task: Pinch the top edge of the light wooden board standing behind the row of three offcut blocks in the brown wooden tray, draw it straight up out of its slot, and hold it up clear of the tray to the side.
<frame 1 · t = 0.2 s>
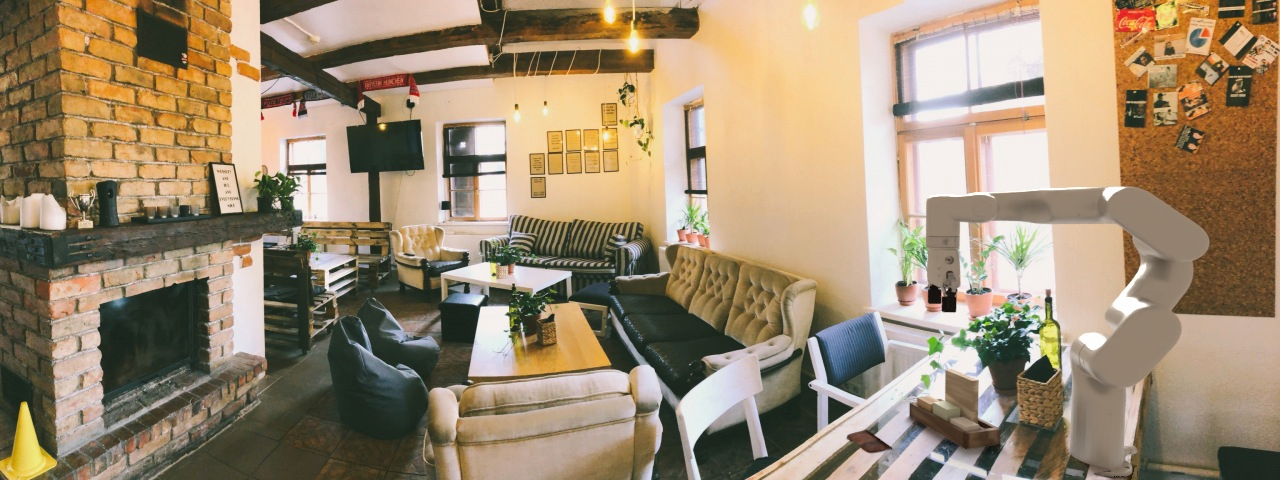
hand: (941, 307, 131), 36 cm above the table, tool pointing down, fingers open, 9 cm apart
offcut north: (964, 440, 131), point 1 cm above the table, touching brown wooden tray
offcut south: (929, 420, 143), point 1 cm above the table, touching brown wooden tray
brown wooden tray: (950, 434, 137), on the table
light wooden board: (960, 427, 138), point 1 cm above the table, touching brown wooden tray
wooden tablet: (896, 438, 138), on the table
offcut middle: (946, 429, 137), point 1 cm above the table, touching brown wooden tray
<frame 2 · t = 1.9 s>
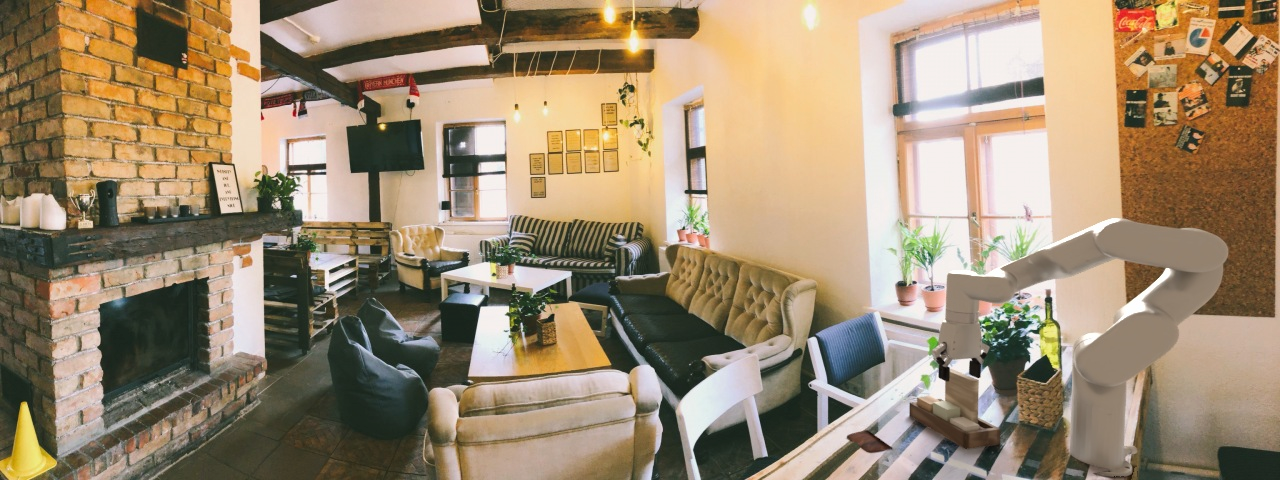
hand: (959, 378, 137), 15 cm above the table, tool pointing down, fingers open, 9 cm apart
nothing on the table moved.
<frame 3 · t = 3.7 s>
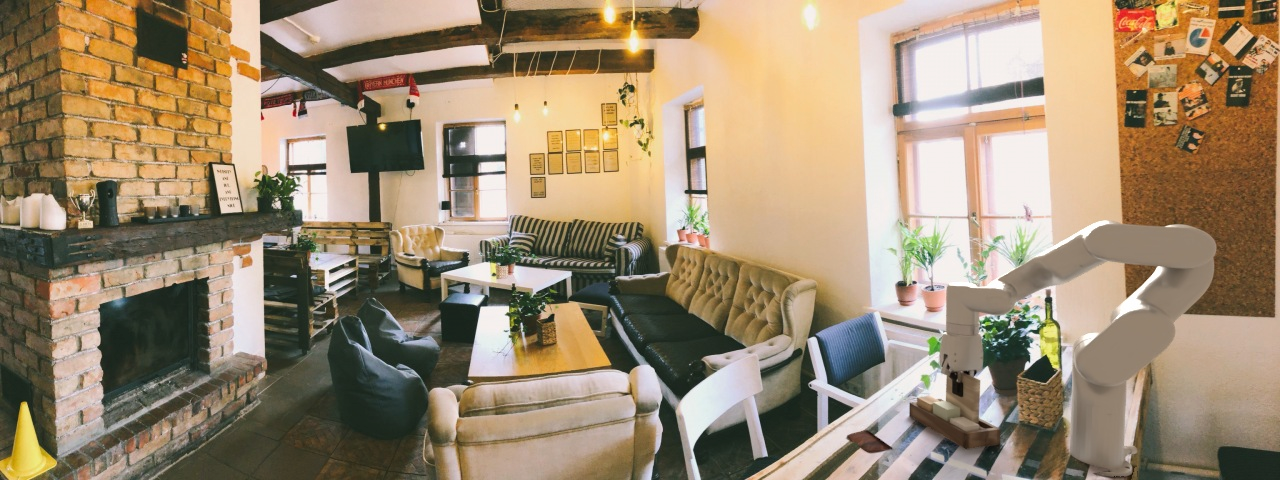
hand: (961, 394, 137), 11 cm above the table, tool pointing down, fingers closed on light wooden board, 1 cm apart
light wooden board: (961, 426, 138), point 2 cm above the table, touching gripper
everything else where it was.
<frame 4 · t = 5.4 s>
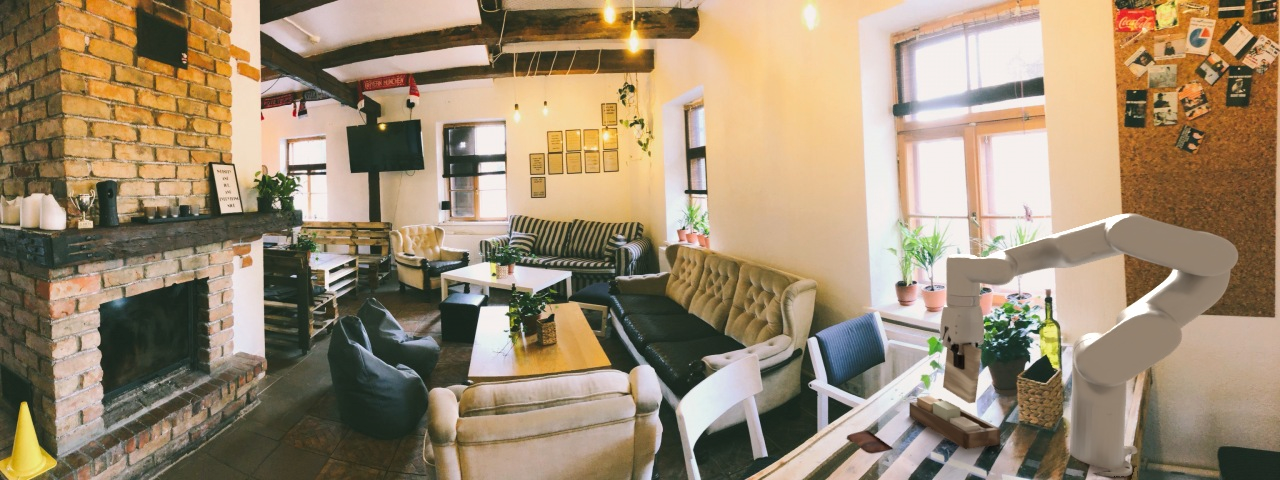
hand: (962, 367, 136), 19 cm above the table, tool pointing down, fingers closed on light wooden board
light wooden board: (958, 394, 138), point 10 cm above the table, tilted 7°, touching gripper
everything else where it was.
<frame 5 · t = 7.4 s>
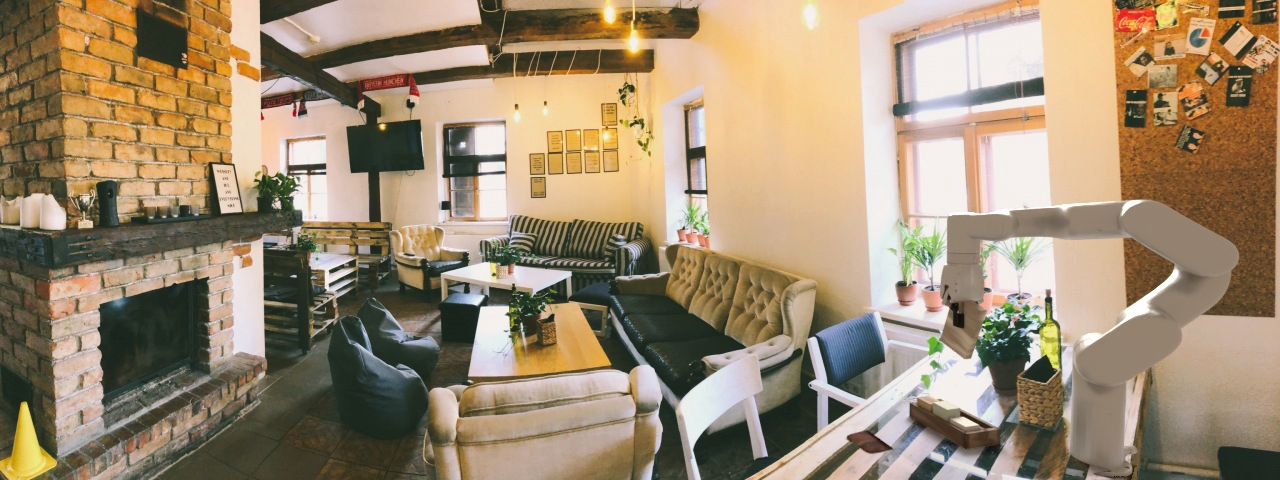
hand: (962, 326, 135), 30 cm above the table, tool pointing down, fingers closed on light wooden board
light wooden board: (955, 349, 138), point 23 cm above the table, tilted 18°, touching gripper
everything else where it was.
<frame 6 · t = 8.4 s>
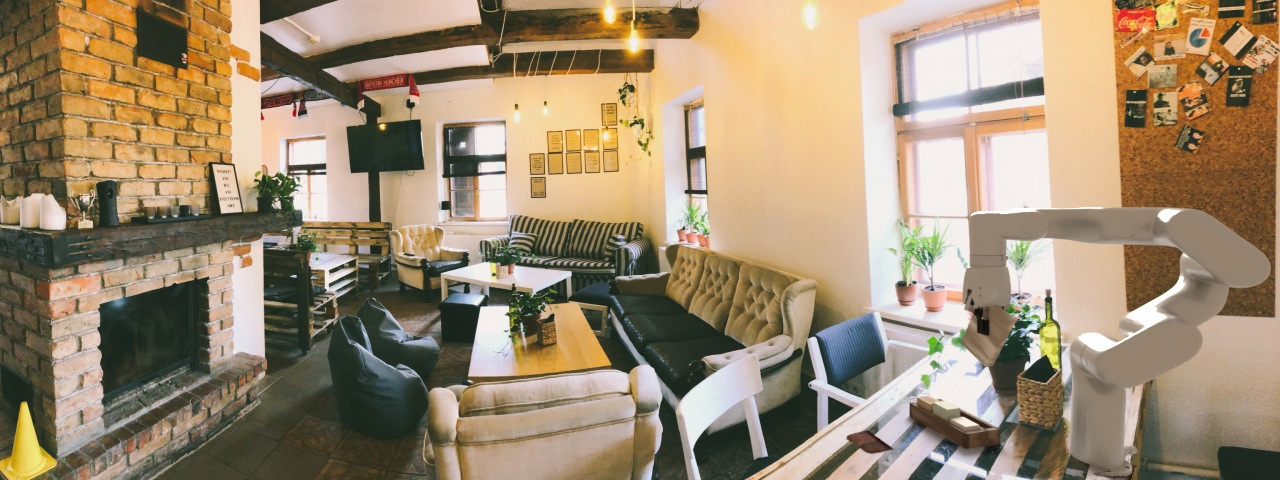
hand: (987, 333, 126), 31 cm above the table, tool pointing down, fingers closed on light wooden board
light wooden board: (976, 354, 130), point 24 cm above the table, tilted 26°, touching gripper
everything else where it was.
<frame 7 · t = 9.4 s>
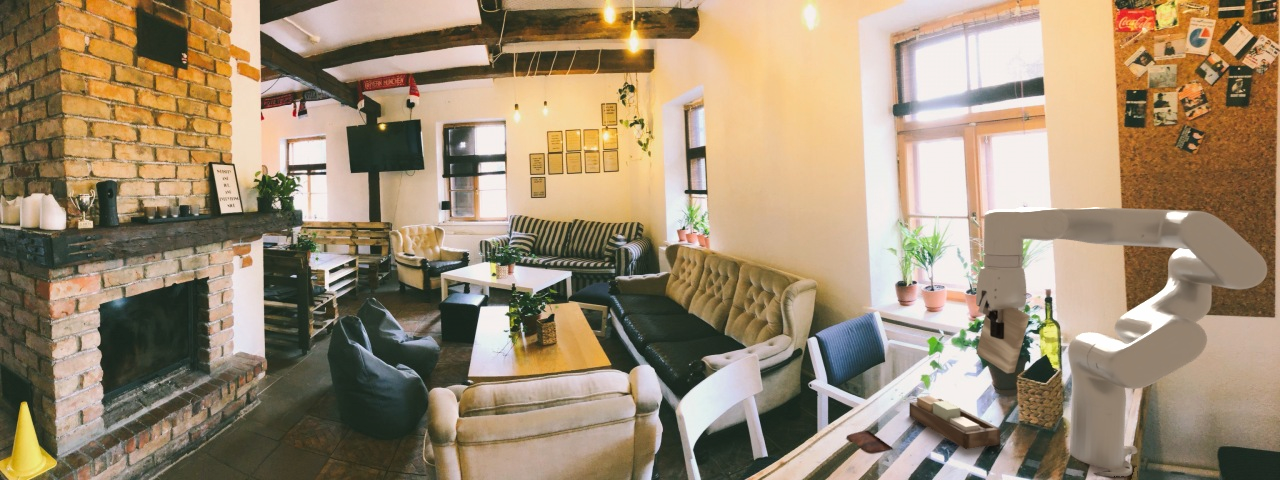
hand: (1001, 336, 121), 31 cm above the table, tool pointing down, fingers closed on light wooden board
light wooden board: (994, 362, 123), point 24 cm above the table, tilted 14°, touching gripper
everything else where it was.
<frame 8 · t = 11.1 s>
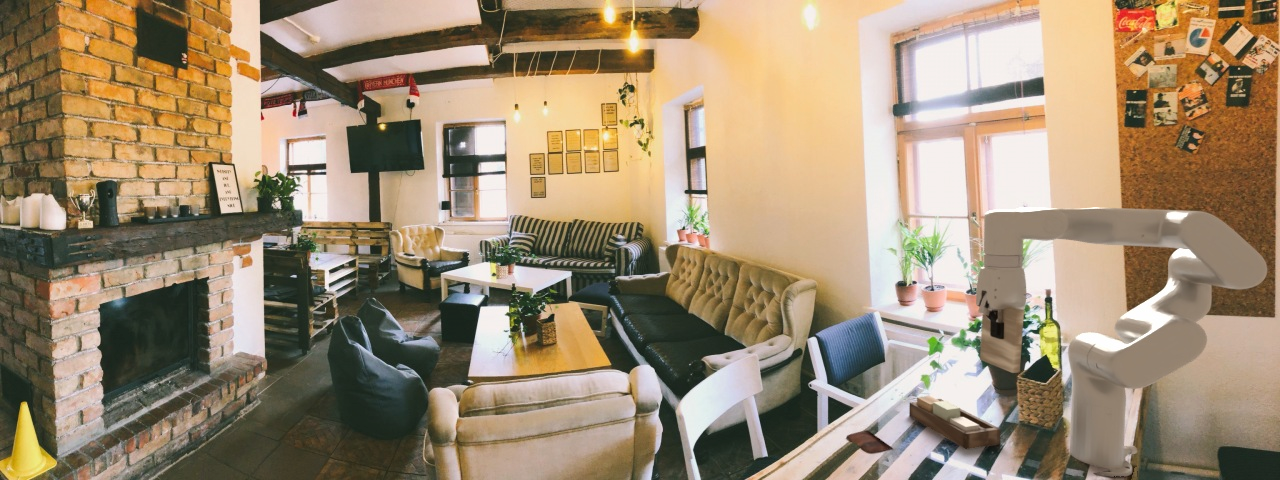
hand: (1001, 336, 121), 31 cm above the table, tool pointing down, fingers closed on light wooden board
light wooden board: (999, 365, 122), point 24 cm above the table, touching gripper
everything else where it was.
at the end: light wooden board inside the target area (0.4 cm from its centre), point 23.8 cm above the table; the gripper is holding light wooden board; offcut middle moved 0.0 cm from its start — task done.
